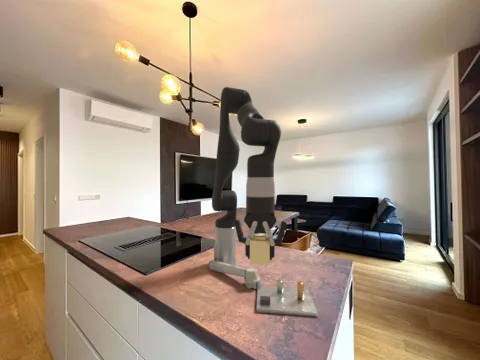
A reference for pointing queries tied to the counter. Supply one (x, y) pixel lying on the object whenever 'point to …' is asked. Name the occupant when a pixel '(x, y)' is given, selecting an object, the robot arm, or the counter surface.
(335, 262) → the counter surface
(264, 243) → the cube with dome bump
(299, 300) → the plate
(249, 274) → the white handheld device
